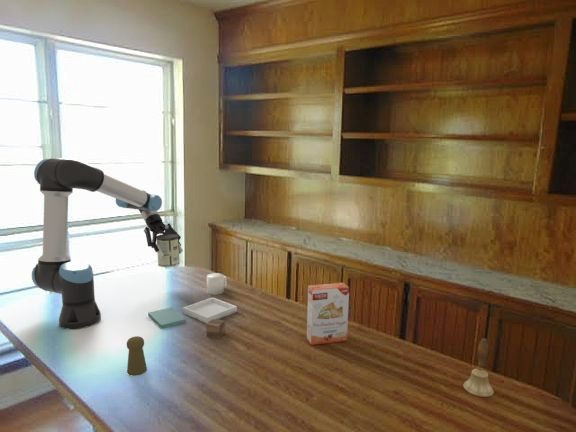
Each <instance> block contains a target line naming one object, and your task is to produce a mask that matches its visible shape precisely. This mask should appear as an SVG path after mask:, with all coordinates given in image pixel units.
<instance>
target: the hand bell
mask: <svg viewBox="0 0 576 432" xmlns="http://www.w3.org/2000/svg"><path fill="white" fill-rule="evenodd" d="M488 350H489V346H488V342H487V338H484V337H482V338H481V340H480V341H479V344H478V348H477V355H478V363H477V367H476V368H474V369H472V370H471V374H470V376H469V378H468V380H465V381H464V383H463V384H462V386H463V389H464V390H465V391H466V392H468V393H469V394H472V395H474V396H477V397H480V398H488V397H491V396H493V395H494V388H493V387H492V386H491V385H490V382H489V373H488V372H487V371H486V370H484V368H485V360H486V357H487V355H488Z"/></svg>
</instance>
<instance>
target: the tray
mask: <svg viewBox="0 0 576 432" xmlns="http://www.w3.org/2000/svg"><path fill="white" fill-rule="evenodd" d="M235 313H238V306H237V305H234V304H232V303H229V302H227V301H223V300H221V299H219V298H215V297H213V296H212V297H209V298H206V299H203V300H201V301H197V302H195V303H192V304H190V305H186V306H184V307H182V314H184V315H186V316H188V317H191V318H194V319H195V320H197V319H198V321H200V322H202V323H205V324H207V323H208V322H210V321H211V320H212V319H217V320H222V319H223V318H225V317H227V316H230V315H233V314H235Z"/></svg>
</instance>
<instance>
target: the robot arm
mask: <svg viewBox="0 0 576 432" xmlns="http://www.w3.org/2000/svg"><path fill="white" fill-rule="evenodd" d="M33 176H34V179H35V181H36V182H37V184H38V185H39V192H41V194H43V226H42V227H43V229H42V230H43V231H42V232H43V234H42V255H40V256H39V257H38V259H37V260H38V261H37V263H36V264H35V266H34V267H33V268H32V272H31V280H32V282H33V284H34V286H36V287H37V288H39V289H41V290H44V291H45V292H51V293H56V294H60V295H61V301H62V303H61V304H62V306H61V308H60V309H61V310H60V313H59V317H58V325H59V327H60V326H61V328H62V327H63V329H66V328H69V329H68V330H76V329H78V330H79V329H82V328H89V327H91V326H93V325H96V324H97V323H98V322H100V321H101V319H102V315H101V314H102V313H101V310H100V308H99V307H98V304H97V302H96V299H95V298H96V297H95V296H96V295H95V284H94V283H95V282H94V271H93V267H92V266H91V264H89V263H87V262H84V261H71V257H70V256H69V255H68V250H67V249H68V220H69V219H68V217H69V213H68V212H69V196H70V195H72V194H73V192H74V191H73V189H75V190H76V189H77V190H85V191H89V192H92V193H96V192H99V193H101V194H104V195H106V196H109V197H111V198H115V204H116V205H117V206H118V207H119V208H122V209H129V210H138V211H139V213H140V215H141V217H142V219H143V221H144V223H145V224H146V227H145V228H144V229H143V232H144V233H145V237H146V243H147V247H150V248H152V249H153V250H154V251H155V253H157V256H158V255H159V257H160V258H162V257H163V256H164V254H163V252H162V250H161V248H160V246H159V245H158V244H157V238H156V237H157V236H158V235H162V234H177V235H179V237H178V240H179V255H182V253H183V251H184V249H183V248H182V244H181V242H180V240H181V238H182V237H181V235H180V234H179V233H178V232H177V231H176V230H175V229H174V227H172V225H171V223H167V224H165V223H164V222H163V218H162V217H161V216H160V214H159V212H158V211H159V210H160V209H161V208H162V206H163V200H162V198H161V196H159V195H157V194H155V193H153V194H152V193H151V194H150V193H149V192H147V191H146V190H142V189H139V188H136V187H135V186H132V185H131V184H127V183H126V182H123V181H121V180H118V179H116V178H114V177H112V176H109V175H108V174H106V173H104V170H102V169H99V168H97V167H95V166H93V165H91V164H88V163H86V162H84V161H82V160H78V159H75V158H61V157H50V158H49V157H48V158H44V159H42V160H40V161H39V162H38V163H37V164H36V165H35V168H34V171H33ZM151 232H152V234H151ZM151 235H152V236H151Z"/></svg>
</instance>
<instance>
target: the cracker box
mask: <svg viewBox="0 0 576 432" xmlns="http://www.w3.org/2000/svg"><path fill="white" fill-rule="evenodd" d="M349 297H350V287H349V286H348V285H346V284H345V282H334V283H324V284H323V283H321V284H309V285H307V309H306V310H307V313H306V314H307V317H306V318H307V321H306V339H307V341H308V342H309V344H310V345H311V346H313V345H314V346H315V345H316V346H317V345H322V344H323V345H324V344H329V343H330V344H332V343H338V342H347V341H348V328H349V327H348V322H349V321H348V320H349V305H350V303H349V302H350V299H349Z"/></svg>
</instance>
